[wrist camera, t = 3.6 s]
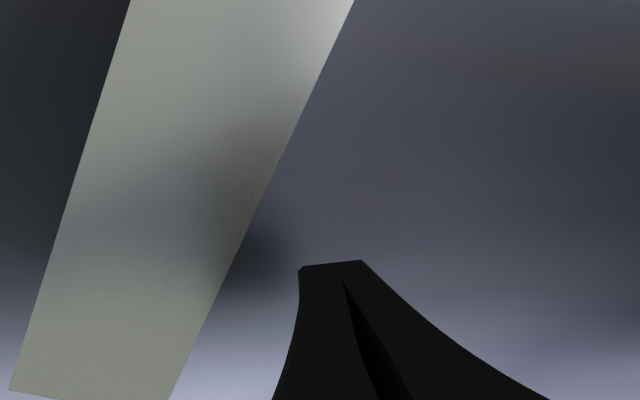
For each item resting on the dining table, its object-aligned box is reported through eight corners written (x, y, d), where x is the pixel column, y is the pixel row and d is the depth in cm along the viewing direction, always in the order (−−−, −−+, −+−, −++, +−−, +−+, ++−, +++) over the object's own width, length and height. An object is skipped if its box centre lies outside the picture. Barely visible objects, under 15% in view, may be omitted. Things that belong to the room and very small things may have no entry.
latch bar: (240, -312, 7) (252, -494, 4) (408, -198, 8) (516, -280, 5) (51, 277, 11) (-16, 407, 8) (183, 311, 12) (168, 440, 9)
